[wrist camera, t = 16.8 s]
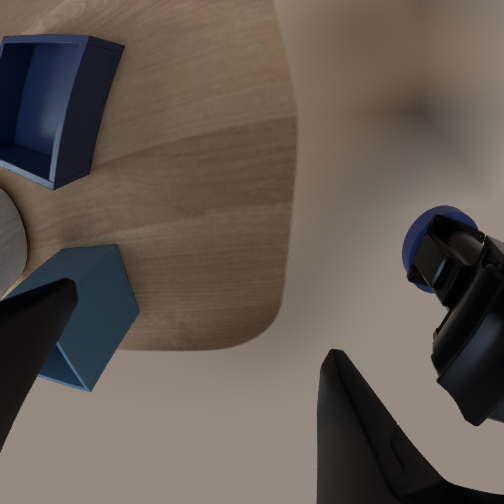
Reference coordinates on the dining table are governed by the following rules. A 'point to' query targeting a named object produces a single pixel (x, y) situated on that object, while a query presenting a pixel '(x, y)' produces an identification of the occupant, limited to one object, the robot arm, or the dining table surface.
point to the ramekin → (11, 244)
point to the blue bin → (87, 312)
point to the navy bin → (53, 103)
